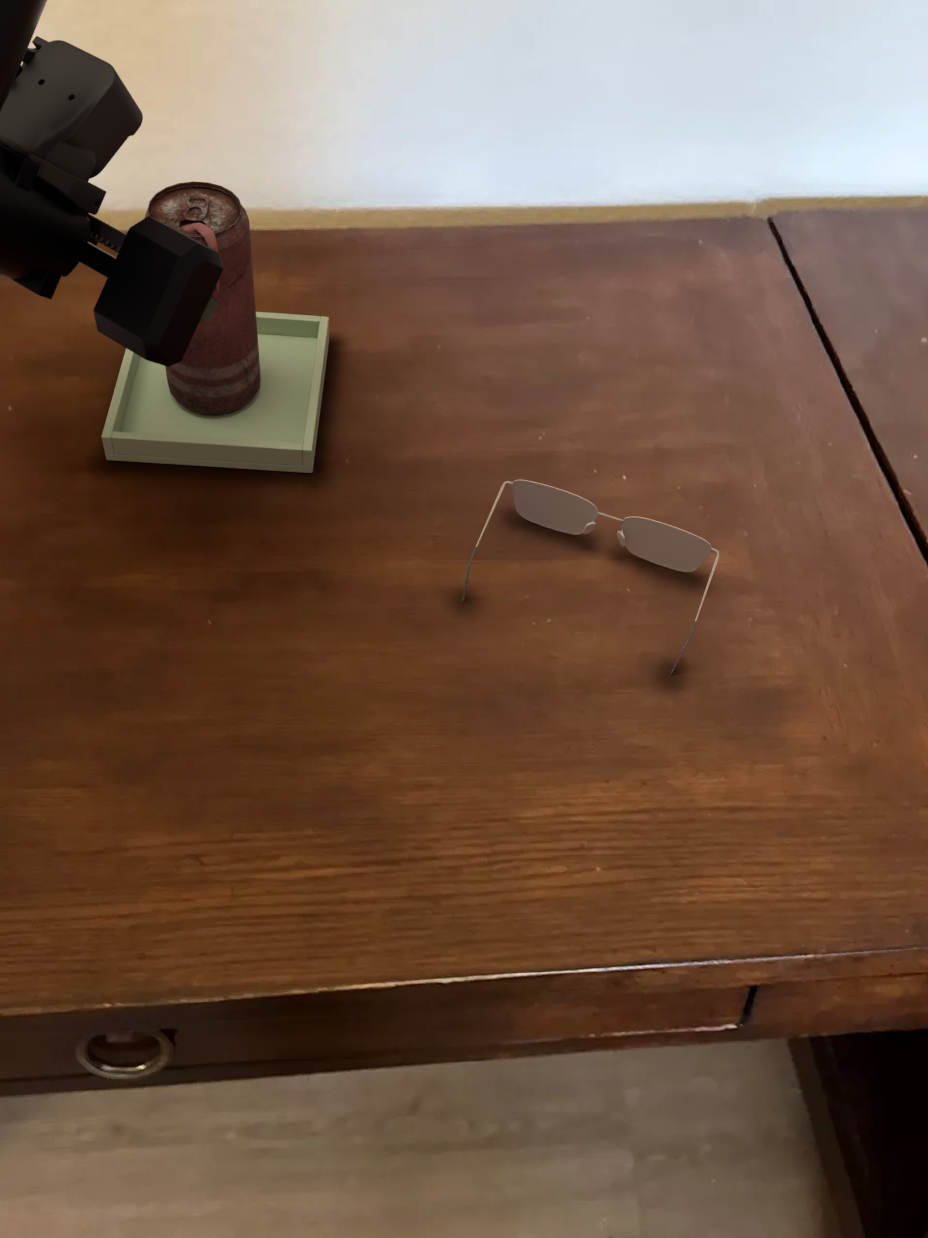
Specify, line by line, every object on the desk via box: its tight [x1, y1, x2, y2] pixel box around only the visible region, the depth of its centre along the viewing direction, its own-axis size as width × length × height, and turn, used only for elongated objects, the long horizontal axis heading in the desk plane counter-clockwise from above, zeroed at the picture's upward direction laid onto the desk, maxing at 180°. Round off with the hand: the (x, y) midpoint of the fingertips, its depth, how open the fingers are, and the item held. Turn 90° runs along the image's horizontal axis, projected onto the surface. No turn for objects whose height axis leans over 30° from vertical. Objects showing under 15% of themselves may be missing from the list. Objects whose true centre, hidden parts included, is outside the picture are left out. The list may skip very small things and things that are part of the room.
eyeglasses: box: [461, 479, 720, 675], centre depth 73 cm, size 14×8×4 cm, turn 69°
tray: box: [100, 311, 330, 474], centre depth 81 cm, size 13×13×2 cm
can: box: [144, 181, 261, 416], centre depth 76 cm, size 6×6×14 cm
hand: (152, 274), depth 70 cm, fingers open, 9 cm apart
